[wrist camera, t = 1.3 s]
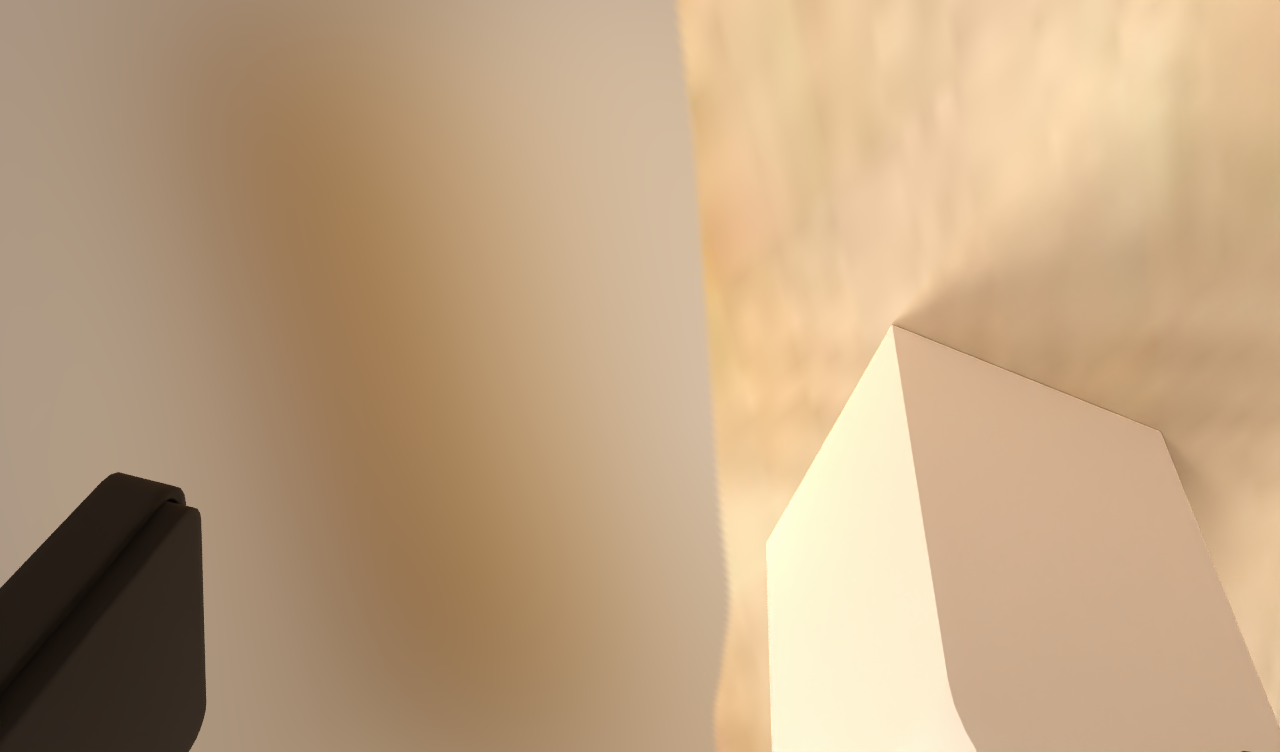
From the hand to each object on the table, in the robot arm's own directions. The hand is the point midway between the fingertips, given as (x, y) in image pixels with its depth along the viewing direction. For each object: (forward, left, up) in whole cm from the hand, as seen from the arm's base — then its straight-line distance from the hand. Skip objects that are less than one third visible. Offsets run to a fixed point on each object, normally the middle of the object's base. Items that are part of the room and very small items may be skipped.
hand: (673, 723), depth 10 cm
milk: (-6, +20, -31) cm, 37 cm away
